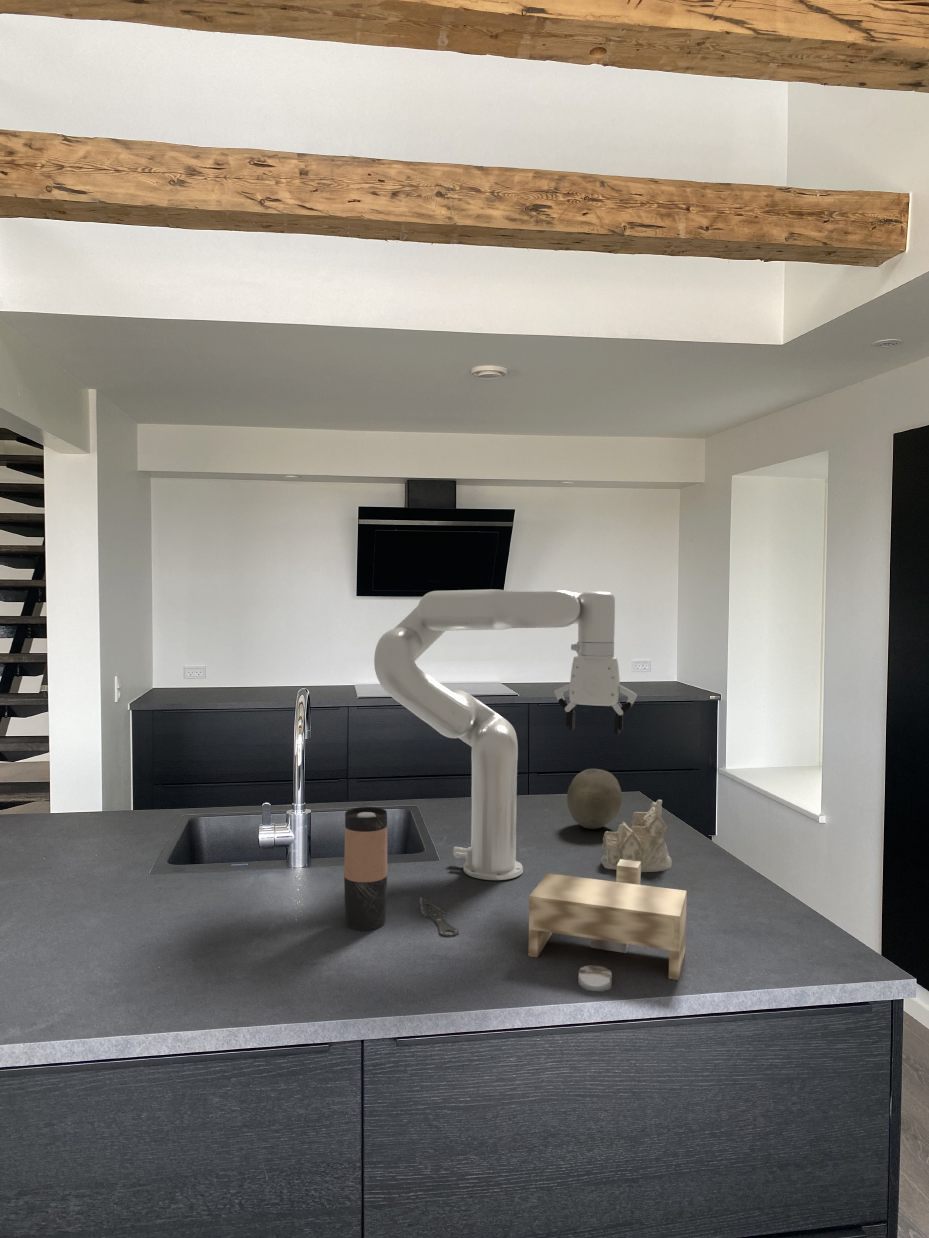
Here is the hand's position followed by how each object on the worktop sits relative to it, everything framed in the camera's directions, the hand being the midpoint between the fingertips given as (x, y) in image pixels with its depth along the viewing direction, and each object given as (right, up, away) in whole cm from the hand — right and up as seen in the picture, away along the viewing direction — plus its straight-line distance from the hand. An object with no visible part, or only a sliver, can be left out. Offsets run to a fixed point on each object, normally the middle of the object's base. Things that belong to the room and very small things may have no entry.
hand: (594, 731), depth 180 cm
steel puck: (-7, -32, -49) cm, 59 cm away
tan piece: (+1, -31, -26) cm, 40 cm away
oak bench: (-4, -32, -38) cm, 50 cm away
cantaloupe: (+5, -29, +35) cm, 46 cm away
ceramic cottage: (+11, -30, +11) cm, 34 cm away
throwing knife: (-33, -31, -23) cm, 51 cm away
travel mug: (-45, -31, -27) cm, 61 cm away
